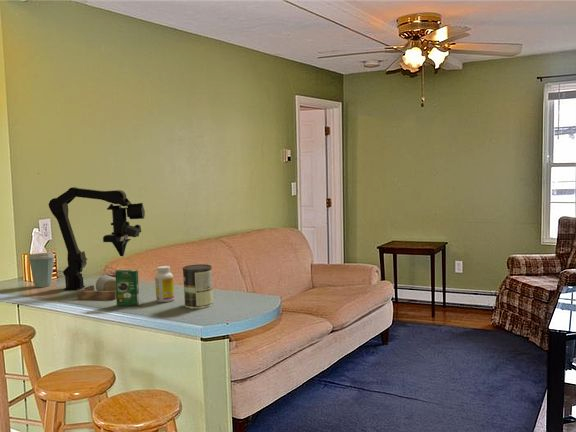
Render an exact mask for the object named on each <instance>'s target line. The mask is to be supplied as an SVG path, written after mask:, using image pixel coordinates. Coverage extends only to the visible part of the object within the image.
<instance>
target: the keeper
mask: <svg viewBox="0 0 576 432" xmlns="http://www.w3.org/2000/svg"><path fill="white" fill-rule="evenodd" d="M83 288H84V289H83V290H78V291H77V296H78V300H109V301H110V300H113V301H115V300H116V301H117V299H116V290H114V291H97V290H95V285H94V284H93V285H92V284H91V285H88V286H85V287H83Z"/></svg>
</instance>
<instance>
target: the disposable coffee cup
mask: <svg viewBox="0 0 576 432" xmlns="http://www.w3.org/2000/svg"><path fill="white" fill-rule="evenodd" d="M55 257H56V256H55V254H54V252H37V253H30V254H29V256H28V260H29V265H30V269H31V275H32V279H33V285H34V287H35V288H47V286H48V287H50V286H51V284H52V281H53V280H52V279H53V272H54V270H53V269H54V264H55V263H54V262H55Z"/></svg>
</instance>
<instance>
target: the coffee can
mask: <svg viewBox="0 0 576 432" xmlns="http://www.w3.org/2000/svg"><path fill="white" fill-rule="evenodd" d="M182 275H183V277H182V278H183V279H182V280H183V293H184V294H183V295H184V297H183V298H184V307H185V308H187V309H189V310H190V309H191V310H198V309H206V308H210V307H212V306H214V300H213V299H214V298H213V297H214V296H213V276H212V275H213V274H212V265H210V264H205V263H203V264H200V263H199V264H189V265H185V266H182Z"/></svg>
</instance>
